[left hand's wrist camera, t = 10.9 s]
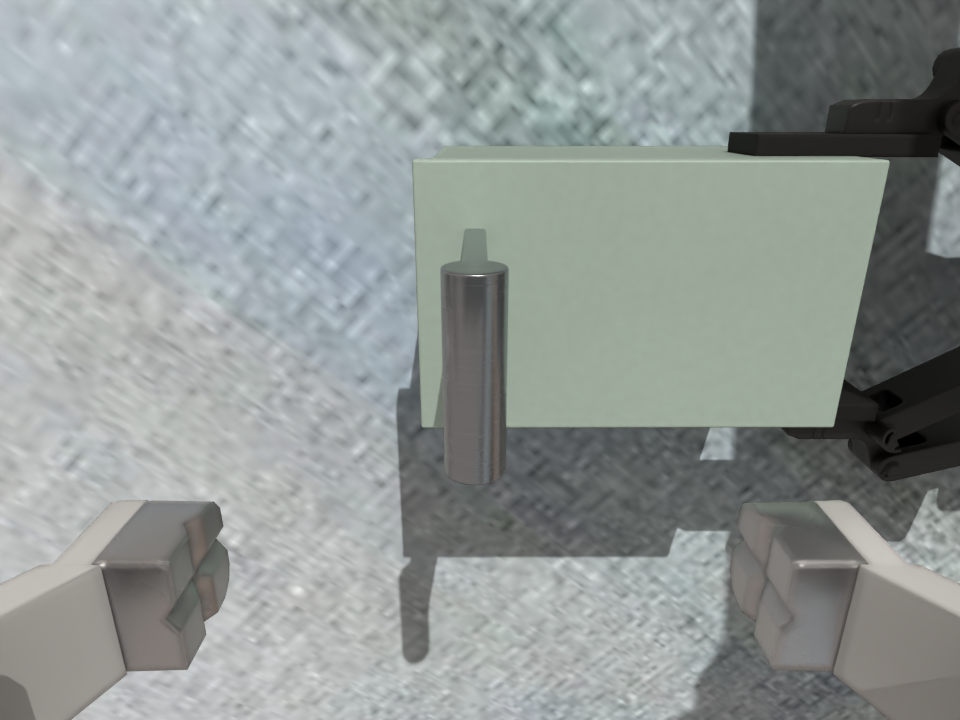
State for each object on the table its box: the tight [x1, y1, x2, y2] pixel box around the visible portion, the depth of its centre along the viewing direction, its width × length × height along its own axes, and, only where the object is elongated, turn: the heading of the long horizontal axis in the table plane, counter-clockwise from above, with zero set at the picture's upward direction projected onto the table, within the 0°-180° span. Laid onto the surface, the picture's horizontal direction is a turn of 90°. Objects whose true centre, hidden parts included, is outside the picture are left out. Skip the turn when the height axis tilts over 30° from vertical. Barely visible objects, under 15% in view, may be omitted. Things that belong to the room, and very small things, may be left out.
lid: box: [412, 158, 890, 485], centre depth 20 cm, size 16×10×8 cm, turn 90°
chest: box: [434, 146, 873, 159], centre depth 28 cm, size 15×10×9 cm, turn 90°
